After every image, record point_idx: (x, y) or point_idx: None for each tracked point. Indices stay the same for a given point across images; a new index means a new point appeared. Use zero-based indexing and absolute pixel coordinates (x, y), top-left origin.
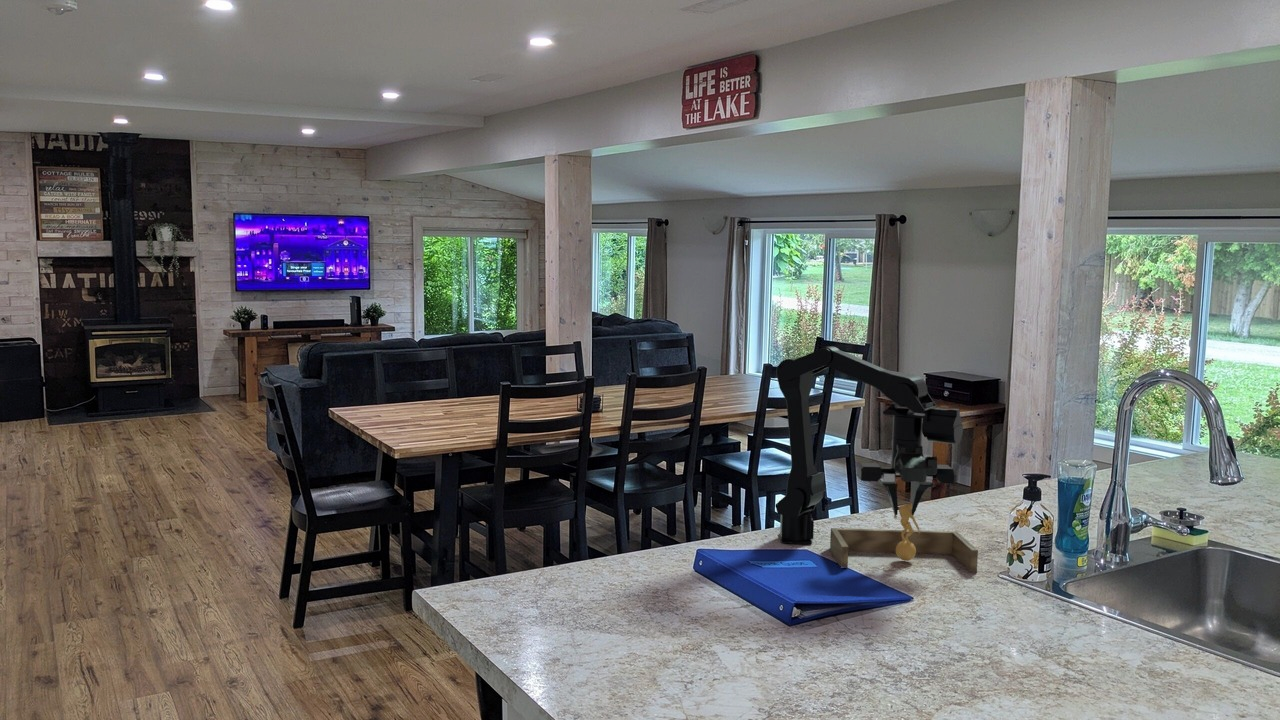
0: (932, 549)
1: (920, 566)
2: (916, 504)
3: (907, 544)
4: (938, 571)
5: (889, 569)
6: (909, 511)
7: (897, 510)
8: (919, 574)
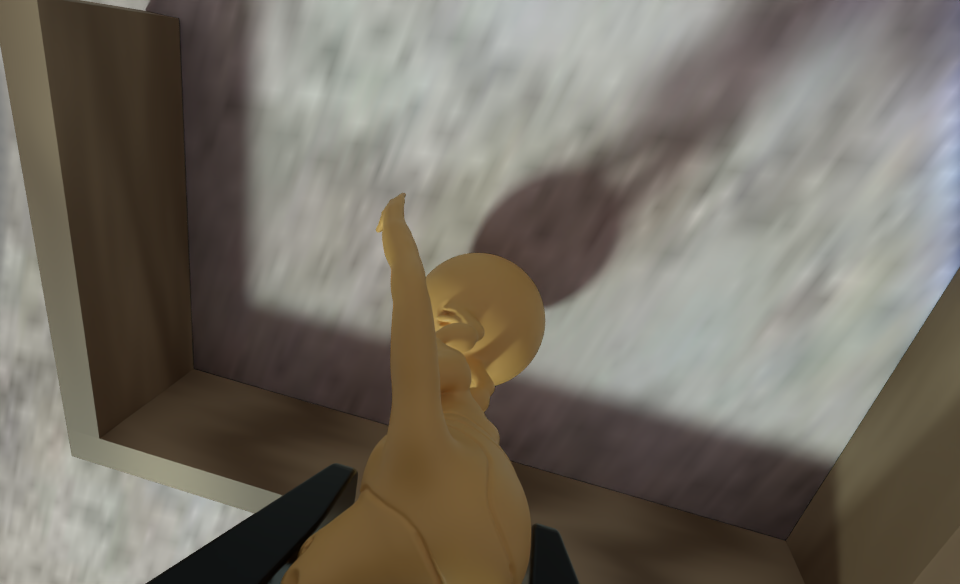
0: (273, 407)
1: (438, 191)
2: (215, 561)
3: (475, 307)
4: (368, 71)
5: (678, 156)
6: (410, 431)
7: (534, 567)
8: (524, 12)
